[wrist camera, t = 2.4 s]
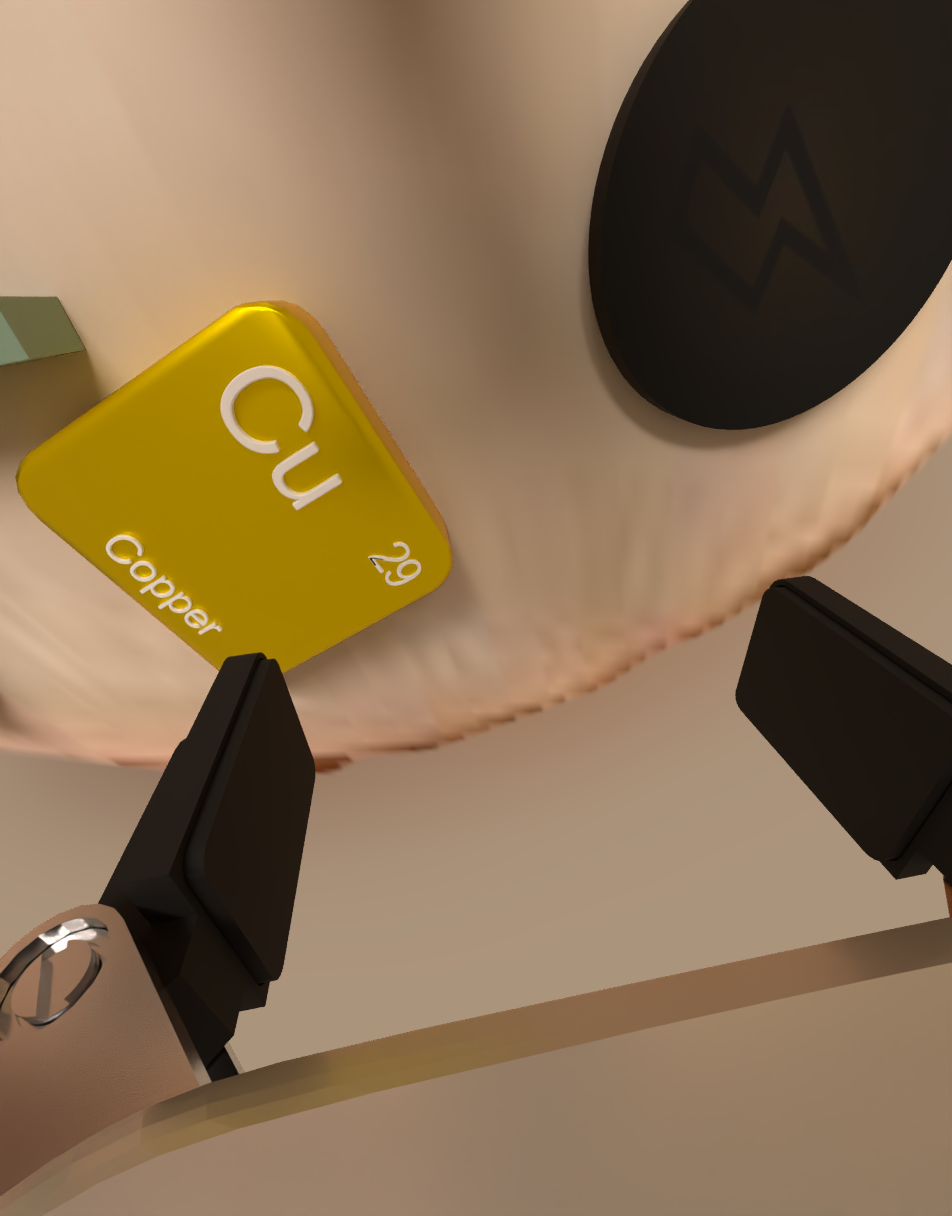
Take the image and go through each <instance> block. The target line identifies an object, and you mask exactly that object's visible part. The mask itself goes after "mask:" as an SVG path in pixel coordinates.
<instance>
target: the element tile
mask: <svg viewBox="0 0 952 1216" xmlns="http://www.w3.org/2000/svg"><path fill="white" fill-rule="evenodd" d="M16 483H17V488H18V492H19V494H20V496H21V497H22V499H23V500H24V502H25V504H26V505H27V507H28V508H29V509H30V510H31V511H32V512H33V513H34V514H35V516H36V517H37V518H38V519H39V520H40V521H41V522H43V523H44V524H45V525H46V526H47V527H49V528H50V529H51V530H52V531H53V532H54V533H56V534H57V535H58V536H59V537H60V538H62V539H63V540H64V541H65V542H66V543H68V544H69V545H70V546H71V547H72V548H73V549H75V550H76V551H77V552H78V553H79V554H81V555H82V556H83V557H84V558H85V559H87V560H88V561H89V562H90V563H91V564H92V565H94V566H95V567H96V568H97V569H98V570H100V571H101V572H102V573H103V574H104V575H106V576H107V577H108V578H109V579H110V580H111V581H113V582H114V583H115V584H116V585H117V586H119V587H120V588H121V589H122V590H123V591H125V592H126V593H127V594H128V595H129V596H130V597H132V598H133V599H134V600H135V601H136V602H138V603H139V604H140V605H141V606H142V607H144V608H145V609H146V610H147V611H148V612H149V613H151V614H152V615H153V616H154V617H155V618H157V619H158V620H159V621H160V622H161V623H163V624H164V625H165V626H166V627H167V628H168V629H170V630H171V631H172V632H173V633H174V634H176V635H177V636H178V637H179V638H180V639H182V640H183V641H184V642H185V643H186V644H187V645H189V646H190V647H191V648H192V649H193V650H195V651H196V652H197V653H198V654H199V655H201V656H202V657H203V658H204V659H205V660H206V661H208V662H209V663H210V664H211V665H212V666H214V667H215V668H216V669H217V670H218V671H220V669H221V667H222V665H223V662H224V661H225V659H226V658H227V657H230V656H237V655H244V654H251V653H258V652H261V653H264V655H265V656H266V657H267V659H276V660H277V662H278V664H279V666H280V669H281V672H282V674H283V673H285V672H287V671H289V670H291V669H292V668H294V667H296V666H298V665H300V664H301V663H303V662H305V661H307V660H309V659H311V658H312V657H314V656H316V655H318V654H320V653H321V652H323V651H325V650H327V649H329V648H330V647H332V646H334V645H336V644H338V643H340V642H341V641H343V640H345V639H347V638H349V637H350V636H352V635H354V634H356V633H358V632H359V631H361V630H363V629H365V628H367V627H369V626H370V625H372V624H374V623H376V622H378V621H379V620H381V619H383V618H385V617H387V616H388V615H390V614H392V613H394V612H396V611H398V610H399V609H401V608H403V607H405V606H407V605H408V604H410V603H412V602H414V601H416V600H418V599H419V598H421V597H423V596H425V595H427V594H428V593H430V592H432V591H434V590H435V589H437V588H438V587H439V586H440V585H441V584H442V583H443V582H444V580H445V579H446V578H447V577H448V575H449V573H450V570H451V566H452V563H453V562H452V554H451V548H450V544H449V539H448V535H447V530H446V526H445V523H444V520H443V518H442V515H441V514H440V512H439V511H438V509H437V507H436V506H435V504H434V503H433V501H432V500H431V498H430V496H429V495H428V493H427V492H426V490H425V488H424V487H423V485H422V484H421V482H420V481H419V479H418V477H417V476H416V474H415V473H414V471H413V469H412V468H411V466H410V465H409V463H408V462H407V460H406V458H405V457H404V455H403V454H402V452H401V450H400V449H399V447H398V446H397V444H396V443H395V441H394V439H393V438H392V436H391V435H390V433H389V431H388V430H387V428H386V427H385V425H384V423H383V422H382V420H381V419H380V417H379V416H378V414H377V412H376V411H375V409H374V408H373V406H372V404H371V403H370V401H369V400H368V398H367V397H366V395H365V393H364V392H363V390H362V389H361V387H360V385H359V384H358V382H357V381H356V379H355V378H354V376H353V374H352V373H351V371H350V370H349V368H348V366H347V365H346V363H345V362H344V360H343V358H342V357H341V355H340V354H339V352H338V351H337V349H336V347H335V346H334V344H333V343H332V341H331V339H330V338H329V336H328V335H327V333H326V332H325V330H324V329H323V328H322V327H321V325H320V324H319V323H318V322H317V320H316V319H315V318H314V317H313V316H311V315H310V314H309V313H307V312H306V311H305V310H304V309H302V308H301V307H300V306H298V305H295V304H292V303H288V302H285V301H261V302H252V303H245V304H242V305H239V306H236V307H234V308H232V309H231V310H230V311H228V312H227V313H225V314H224V315H222V316H221V317H220V318H218V319H217V320H215V321H214V322H213V323H211V324H210V325H208V326H207V327H205V328H204V329H203V330H201V331H200V332H198V333H197V334H196V335H194V336H193V337H191V338H190V339H188V340H187V341H186V342H184V343H183V344H181V345H180V346H179V347H177V348H176V349H174V350H173V351H172V352H170V353H169V354H167V355H166V356H164V357H163V358H162V359H160V360H159V361H157V362H156V363H155V364H153V365H152V366H150V367H149V368H147V369H146V370H145V371H143V372H142V373H140V374H139V375H138V376H136V377H135V378H133V379H132V380H130V381H129V382H128V383H126V384H125V385H123V386H122V387H121V388H119V389H118V390H116V391H115V392H113V393H112V394H111V395H109V396H108V397H106V398H105V399H104V400H102V401H101V402H99V403H98V404H97V405H95V406H94V407H92V408H91V409H89V410H88V411H87V412H85V413H84V414H82V415H81V416H80V417H78V418H77V419H75V420H74V421H72V422H71V423H70V424H68V425H67V426H65V427H64V428H63V429H61V430H60V431H58V432H57V433H55V434H54V435H53V436H51V437H50V438H48V439H47V440H46V441H44V442H43V443H41V444H40V445H38V446H37V447H36V448H34V449H33V450H31V451H30V452H29V453H28V454H27V455H26V456H25V458H24V459H23V460H22V461H21V463H20V465H19V468H18V471H17V474H16Z"/></svg>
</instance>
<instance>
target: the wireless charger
mask: <svg viewBox="0 0 952 1216" xmlns="http://www.w3.org/2000/svg"><path fill="white" fill-rule="evenodd" d="M588 252H589V278H590V287H591V295H592V301H593V306H594V310H595V315H596V319H597V322H598V326H599V329H600V332H601V335H602V337H603V340H604V343H605V345H606V347H607V349H608V351H609V354H610V356H611V358H612V359H613V361H614V363H615V364H616V366H617V368H618V369H619V371H620V372H621V374H622V375H623V376H624V378H625V379H626V380H627V381H628V383H629V384H630V385H631V386H632V387H633V388H634V389H635V390H636V391H637V392H638V393H639V394H640V395H641V396H642V397H643V398H645V399H646V400H647V401H648V402H650V403H651V404H653V405H654V406H656V407H657V408H659V409H661V410H663V411H665V412H667V413H669V414H671V415H674V416H676V417H678V418H681V419H683V420H686V421H688V422H691V423H694V424H697V425H700V426H704V427H709V428H715V429H726V430H740V429H750V428H757V427H762V426H766V425H770V424H774V423H778V422H780V421H783V420H786V419H789V418H791V417H794V416H796V415H799V414H801V413H803V412H805V411H807V410H809V409H811V408H813V407H815V406H817V405H818V404H820V403H822V402H823V401H825V400H827V399H828V398H830V397H831V396H833V395H834V394H836V393H837V392H839V391H840V390H842V389H843V388H844V387H846V386H847V385H848V384H850V383H851V382H852V381H854V380H855V379H856V378H857V377H858V376H860V375H861V374H862V373H863V372H865V371H866V370H867V369H868V368H869V367H870V366H871V365H872V364H873V363H874V362H875V361H876V360H877V359H878V358H879V357H880V356H881V355H882V354H883V353H884V352H885V351H886V350H887V349H888V348H889V347H890V346H891V345H892V344H893V343H894V342H895V341H896V339H897V338H898V337H899V336H900V335H901V334H902V333H903V331H904V330H905V329H906V328H907V326H908V325H909V324H910V323H911V322H912V320H913V319H914V318H915V316H916V315H917V314H918V312H919V311H920V310H921V308H922V307H923V305H924V304H925V302H926V301H927V300H928V298H929V297H930V295H931V294H932V292H933V291H934V289H935V287H936V286H937V284H938V283H939V281H940V279H941V278H942V276H943V274H944V273H945V271H946V269H947V267H948V266H949V264H950V262H951V260H952V0H689V1H688V2H687V3H686V4H685V5H684V7H683V8H682V9H681V10H680V11H679V13H678V14H677V15H676V16H675V17H674V19H673V20H672V21H671V22H670V24H669V25H668V26H667V28H666V29H665V31H664V32H663V33H662V35H661V36H660V37H659V39H658V40H657V42H656V43H655V45H654V46H653V48H652V49H651V51H650V53H649V54H648V56H647V57H646V59H645V60H644V62H643V64H642V66H641V68H640V69H639V71H638V73H637V75H636V77H635V78H634V80H633V82H632V84H631V86H630V88H629V90H628V92H627V94H626V96H625V98H624V101H623V103H622V105H621V107H620V110H619V112H618V115H617V117H616V119H615V122H614V124H613V127H612V130H611V133H610V136H609V139H608V141H607V144H606V148H605V151H604V154H603V158H602V161H601V165H600V169H599V173H598V177H597V182H596V186H595V191H594V197H593V203H592V210H591V219H590V227H589V246H588Z"/></svg>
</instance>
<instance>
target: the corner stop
mask: <svg viewBox="0 0 952 1216" xmlns="http://www.w3.org/2000/svg"><path fill="white" fill-rule="evenodd" d="M81 350H86V349H85V347H84V346H83V344H82V342H81V340H80V338H79V337H78V335H77V333H76V331H75V329H74V327H73V326H72V324H71V322H70V320H69V318H68V316H67V315H66V313H65V311H64V309H63V307H62V306H61V304H60V302H59V300H58V298H57V297H0V367H1V366H6V365H11V364H16V363H21V362H26V361H31V360H36V359H41V358H46V357H51V356H56V355H61V354H66V353H71V352H76V351H81Z"/></svg>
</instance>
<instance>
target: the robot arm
mask: <svg viewBox="0 0 952 1216" xmlns="http://www.w3.org/2000/svg"><path fill="white" fill-rule="evenodd" d="M735 695H736V701H737V704H738V707H739V708H740V710H741V711H742V712H743V713H744V714H745V716H746V717H747V718H748V719H749V720H750V721H751V722H752V724H753V725H754V726H755V727H756V728H757V729H758V730H759V732H760V733H761V734H762V735H763V736H764V737H765V739H766V740H767V741H768V742H769V743H770V744H771V745H772V747H774V749H775V750H776V751H777V752H778V753H779V754H780V756H781V757H782V758H783V759H784V760H785V761H786V762H787V764H788V765H789V766H790V767H791V768H792V769H793V770H794V772H795V773H796V774H797V775H798V776H799V777H800V779H801V780H802V781H803V782H804V783H805V784H806V785H807V786H808V788H809V789H810V790H811V791H812V792H813V793H814V794H815V796H816V797H817V798H818V799H819V800H820V801H821V802H822V804H823V805H824V806H825V807H826V808H827V809H828V811H829V812H830V813H831V814H832V815H833V816H834V818H835V819H836V820H837V821H838V822H839V823H840V824H841V826H842V827H843V828H844V829H845V830H846V831H847V832H848V834H849V835H850V836H851V837H852V838H853V839H854V840H855V842H856V843H857V844H858V845H859V846H860V847H861V848H862V850H863V851H865V853H866V854H867V855H869V856H870V857H871V858H873V859H875V860H878V861H880V862H881V863H882V865H883V866H884V867H885V868H886V869H887V870H888V871H889V872H890V874H891V875H892V876H893V877H894V878H895V879H896V880H897V879H902V878H907V877H911V876H917V875H922V874H926V873H927V872H928V870H929V869H930V868H931V866H932V865H934V866H935V867H936V868H937V869H938V870H939V871H940V872H941V873H942V874H943V875H944V876H943V880H944V886H945V892H946V898H947V903H948V909H949V915H950V917H949V918H944V919H939V920H935V921H929V922H924V923H920V924H915V925H910V926H905V927H900V928H895V929H890V930H885V931H881V932H876V933H871V934H866V935H861V936H856V937H851V938H846V939H842V940H837V941H832V942H828V943H822V944H818V945H813V946H808V947H803V948H799V949H794V950H789V951H784V952H779V953H775V954H770V955H765V956H761V957H756V958H751V959H746V960H742V961H736V962H732V963H727V964H723V965H718V966H713V967H708V968H704V969H699V970H694V971H689V972H684V973H680V974H675V975H670V976H665V977H661V978H656V979H651V980H646V981H642V982H637V983H633V984H627V985H623V986H619V987H613V988H609V989H604V990H599V991H595V992H590V993H586V994H581V995H576V996H572V997H567V998H563V999H558V1000H553V1001H548V1002H544V1003H539V1004H535V1005H530V1006H526V1007H521V1008H517V1009H511V1010H507V1011H502V1012H497V1013H493V1014H488V1015H484V1016H479V1017H475V1018H470V1019H465V1020H461V1021H456V1022H451V1023H447V1024H442V1025H437V1026H433V1027H428V1028H424V1029H419V1030H415V1031H410V1032H407V1033H402V1034H398V1035H393V1036H389V1037H385V1038H381V1039H377V1040H373V1041H368V1042H364V1043H359V1044H355V1045H351V1046H347V1047H343V1048H338V1049H334V1050H330V1051H326V1052H322V1053H317V1054H313V1055H309V1056H305V1057H301V1058H296V1059H292V1060H287V1061H283V1062H280V1063H276V1064H273V1065H269V1066H266V1067H263V1068H259V1069H256V1070H252V1071H249V1072H244V1070H243V1068H242V1066H241V1064H240V1063H239V1061H238V1059H237V1057H236V1055H235V1053H234V1051H233V1049H232V1047H231V1046H230V1044H229V1042H228V1041H229V1040H230V1039H231V1038H232V1037H233V1036H234V1032H235V1028H236V1023H237V1019H238V1014H239V1011H244V1010H249V1009H254V1008H259V1007H264V1006H265V1005H266V999H267V994H268V988H269V983H270V981H275V980H278V978H279V977H280V975H281V972H282V969H283V965H284V959H285V954H286V948H287V941H288V935H289V930H290V924H291V918H292V912H293V906H294V900H295V894H296V888H297V883H298V876H299V871H300V865H301V859H302V853H303V847H304V841H305V835H306V829H307V823H308V817H309V812H310V806H311V799H312V794H313V788H314V782H315V764H314V760H313V757H312V754H311V751H310V748H309V746H308V743H307V740H306V737H305V735H304V732H303V729H302V726H301V724H300V721H299V718H298V715H297V713H296V710H295V707H294V705H293V702H292V699H291V696H290V694H289V691H288V688H287V685H286V683H285V680H284V677H283V674H282V672H281V669H280V666H279V664H278V662H277V660H276V659H267V657H266V656H265V655H264V653H261V652H258V653H251V654H244V655H237V656H230V657H227V658H226V659H225V661H224V662H223V665H222V667H221V669H220V671H219V673H218V675H217V677H216V679H215V681H214V683H213V685H212V687H211V689H210V691H209V693H208V695H207V697H206V699H205V701H204V703H203V706H202V708H201V710H200V712H199V714H198V716H197V718H196V720H195V722H194V724H193V726H192V728H191V730H190V732H189V734H188V736H187V738H186V739H184V740H183V741H181V742H180V743H179V745H178V746H177V748H176V749H175V751H174V753H173V755H172V757H171V759H170V761H169V763H168V765H167V767H166V769H165V771H164V773H163V775H162V777H161V779H160V781H159V783H158V785H157V787H156V789H155V791H154V793H153V795H152V797H151V799H150V801H149V803H148V805H147V807H146V809H145V811H144V813H143V815H142V817H141V819H140V821H139V823H138V825H137V827H136V829H135V831H134V833H133V835H132V837H131V839H130V841H129V843H128V845H127V847H126V849H125V851H124V853H123V855H122V857H121V859H120V861H119V863H118V865H117V867H116V869H115V871H114V873H113V875H112V877H111V879H110V881H109V883H108V885H107V887H106V889H105V891H104V893H103V895H102V897H101V899H100V901H99V903H98V904H92V905H82V906H79V907H75V908H73V909H70V910H67V911H65V912H62V913H59V914H57V915H56V916H54V917H52V918H50V919H49V920H47V921H45V922H44V923H42V924H40V925H38V926H37V927H35V928H34V929H33V930H32V931H30V932H29V933H28V934H26V935H25V936H24V937H23V938H21V939H20V940H19V941H18V942H16V943H15V944H14V945H13V946H12V947H11V948H10V949H9V950H8V951H7V952H6V953H5V954H4V955H3V956H2V957H1V958H0V1216H952V665H951V664H950V663H948V662H946V661H945V660H943V659H942V658H940V657H939V656H937V655H935V654H934V653H932V652H931V651H929V650H927V649H926V648H924V647H923V646H921V645H919V644H918V643H916V642H915V641H913V640H912V639H910V638H908V637H907V636H905V635H903V634H902V633H900V632H899V631H897V630H896V629H894V628H892V627H891V626H889V625H888V624H886V623H885V622H883V621H881V620H880V619H878V618H877V617H875V616H873V615H872V614H870V613H869V612H867V611H866V610H864V609H862V608H861V607H859V606H858V605H856V604H854V603H853V602H851V601H849V600H848V599H847V598H845V597H843V596H842V595H840V594H839V593H837V592H835V591H834V590H832V589H831V588H829V587H827V586H826V585H824V584H823V583H821V582H820V581H818V580H816V579H815V578H813V577H810V576H801V577H794V578H787V579H780V580H777V581H775V582H774V583H773V584H772V585H771V586H770V588H769V589H767V590H766V591H765V592H764V594H763V597H762V600H761V604H760V607H759V611H758V614H757V618H756V622H755V625H754V629H753V632H752V636H751V639H750V643H749V646H748V650H747V653H746V657H745V661H744V664H743V667H742V671H741V675H740V678H739V682H738V685H737V689H736V694H735Z"/></svg>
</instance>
